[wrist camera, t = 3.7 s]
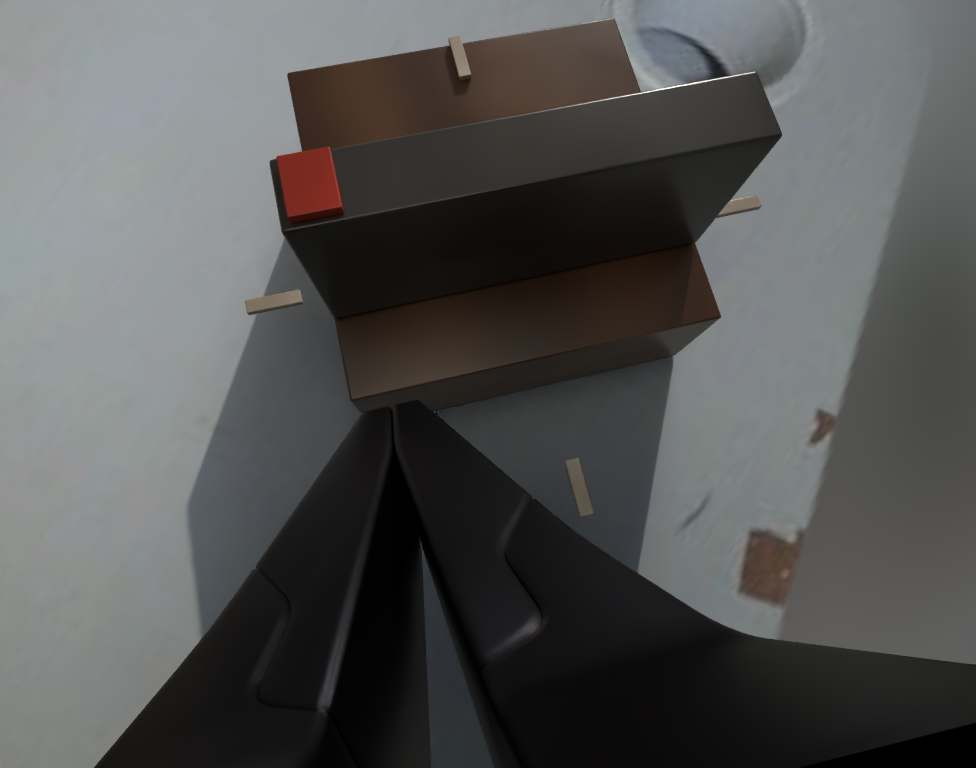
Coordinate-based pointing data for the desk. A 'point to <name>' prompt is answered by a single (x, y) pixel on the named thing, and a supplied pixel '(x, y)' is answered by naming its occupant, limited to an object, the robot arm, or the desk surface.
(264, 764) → the robot arm
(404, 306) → the panel
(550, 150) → the red-tipped grey slab
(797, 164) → the desk surface
